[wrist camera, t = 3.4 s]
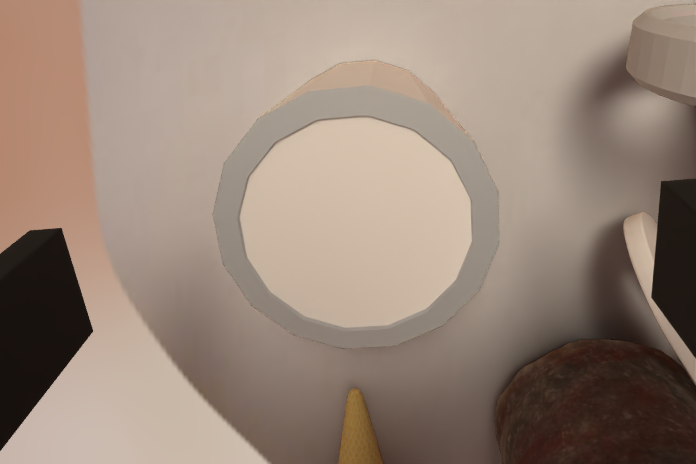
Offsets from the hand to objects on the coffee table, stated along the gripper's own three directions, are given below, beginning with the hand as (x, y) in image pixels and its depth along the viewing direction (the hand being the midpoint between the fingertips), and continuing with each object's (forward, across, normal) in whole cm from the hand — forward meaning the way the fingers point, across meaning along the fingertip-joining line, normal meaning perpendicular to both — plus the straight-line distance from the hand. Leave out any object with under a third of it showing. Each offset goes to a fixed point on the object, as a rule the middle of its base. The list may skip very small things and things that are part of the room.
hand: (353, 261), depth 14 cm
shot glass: (+8, 0, 0) cm, 8 cm away
